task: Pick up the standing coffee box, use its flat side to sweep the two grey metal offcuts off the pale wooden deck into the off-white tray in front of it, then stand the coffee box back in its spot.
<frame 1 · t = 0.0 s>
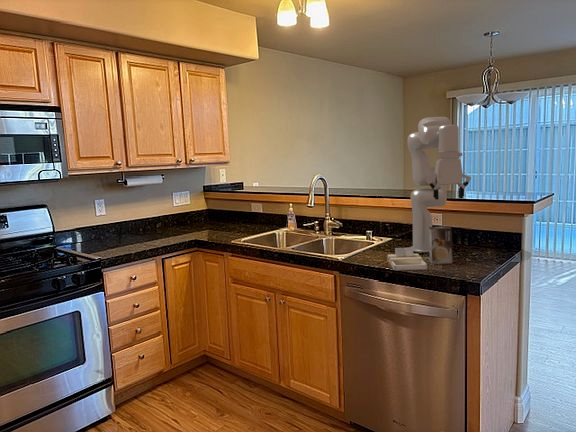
hand: (448, 198, 180), 31 cm above the counter, tool pointing down, fingers open, 9 cm apart
offcut a: (408, 255, 205), point 3 cm above the counter, touching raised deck
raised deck: (404, 262, 204), on the counter
coffee box: (440, 262, 202), on the counter
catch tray: (408, 267, 196), on the counter
offcut b: (399, 256, 205), point 3 cm above the counter, touching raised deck
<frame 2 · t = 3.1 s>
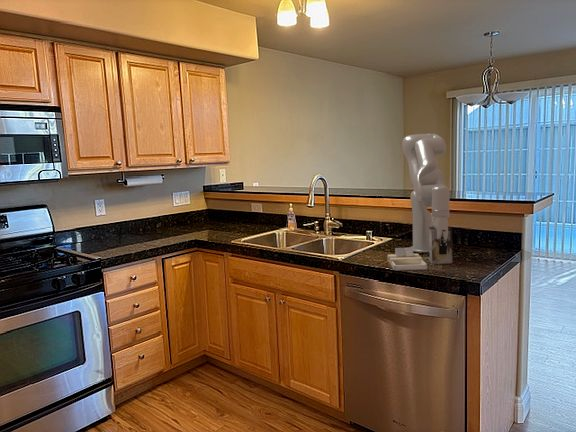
hand: (440, 252, 202), 5 cm above the counter, tool pointing down, fingers closed on coffee box, 6 cm apart
coffee box: (440, 262, 202), on the counter, touching gripper
everything else where it was.
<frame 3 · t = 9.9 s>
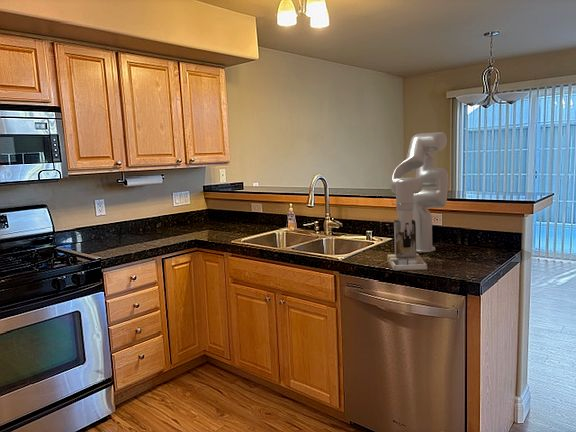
hand: (405, 245, 202), 9 cm above the counter, tool pointing down, fingers closed on coffee box, 6 cm apart
offcut a: (411, 261, 197), point 2 cm above the counter, tilted 90°, touching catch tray
coffee box: (405, 255, 202), point 4 cm above the counter, touching gripper
offcut b: (401, 261, 198), point 2 cm above the counter, tilted 90°, touching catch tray
when the fingers open (6 cm above the counter, at t = 16.3 s): coffee box drops 1 cm, on the counter.
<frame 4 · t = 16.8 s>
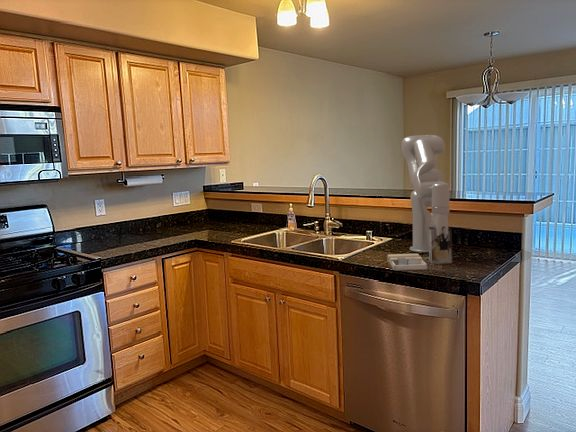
hand: (440, 247, 202), 7 cm above the counter, tool pointing down, fingers open, 9 cm apart
coffee box: (440, 262, 203), on the counter
everything else where it was.
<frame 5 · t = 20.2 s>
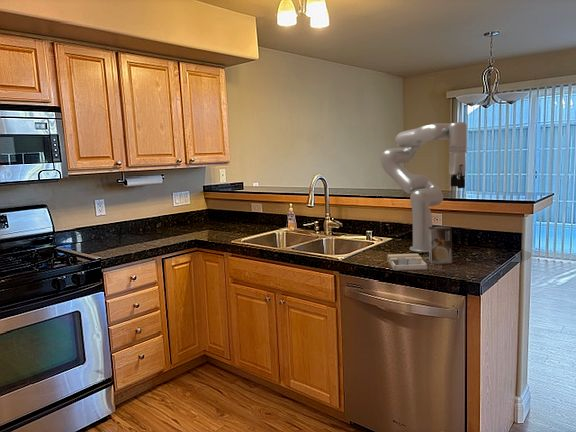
hand: (457, 187, 205), 33 cm above the counter, tool pointing down, fingers open, 9 cm apart
nothing on the counter moved.
at the end: offcut a inside the target area on the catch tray (2.4 cm from its centre), point 2.1 cm above the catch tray's base; offcut b inside the target area on the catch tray (3.6 cm from its centre), point 2.1 cm above the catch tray's base; coffee box tilted 0° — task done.
